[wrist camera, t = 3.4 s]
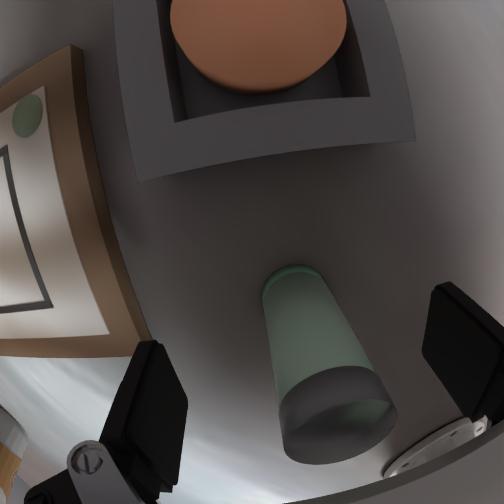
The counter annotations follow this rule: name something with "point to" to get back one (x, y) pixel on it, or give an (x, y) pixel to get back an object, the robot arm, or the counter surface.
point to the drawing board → (58, 224)
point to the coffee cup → (10, 452)
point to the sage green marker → (321, 372)
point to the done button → (258, 40)
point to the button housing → (254, 96)
